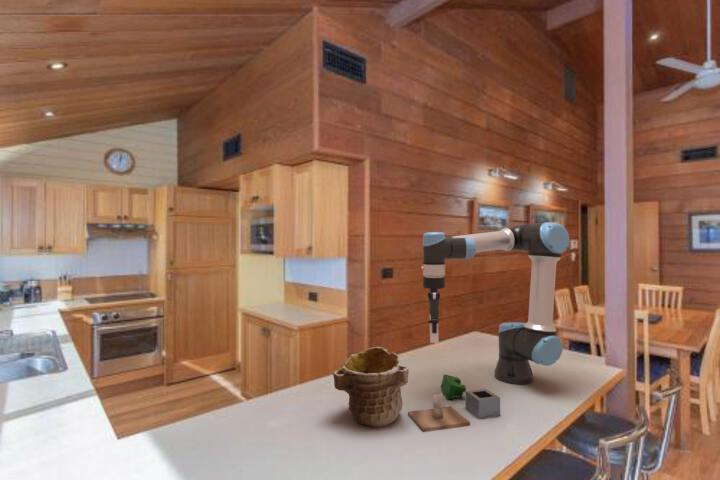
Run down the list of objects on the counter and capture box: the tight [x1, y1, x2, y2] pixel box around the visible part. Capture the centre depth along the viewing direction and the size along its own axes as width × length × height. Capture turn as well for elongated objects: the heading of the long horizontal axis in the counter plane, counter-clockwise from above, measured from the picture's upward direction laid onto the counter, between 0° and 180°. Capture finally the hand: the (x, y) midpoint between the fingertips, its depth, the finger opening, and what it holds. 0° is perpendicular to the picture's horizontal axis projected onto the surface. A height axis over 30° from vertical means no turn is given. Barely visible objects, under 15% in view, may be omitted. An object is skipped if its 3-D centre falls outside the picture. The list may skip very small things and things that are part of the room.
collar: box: [465, 388, 501, 420], centre depth 132 cm, size 8×8×6 cm
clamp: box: [440, 373, 467, 401], centre depth 147 cm, size 12×6×9 cm, turn 175°
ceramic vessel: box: [332, 346, 410, 428], centre depth 127 cm, size 23×24×25 cm
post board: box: [407, 392, 471, 433], centre depth 126 cm, size 16×12×8 cm
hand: (433, 337), depth 137 cm, fingers open, 13 cm apart
